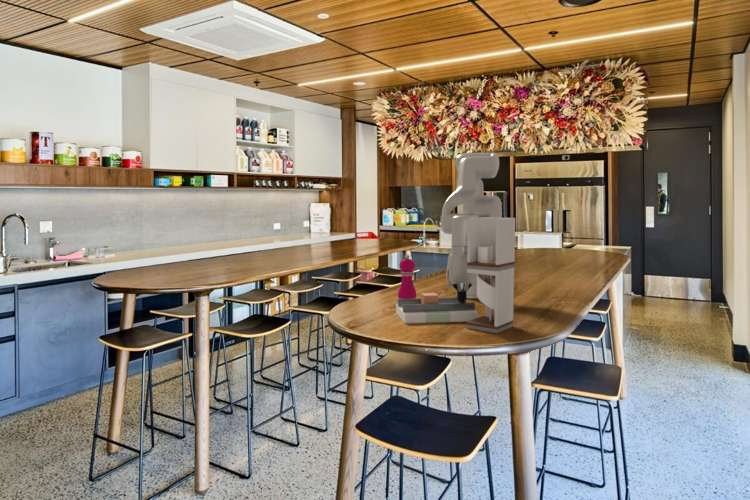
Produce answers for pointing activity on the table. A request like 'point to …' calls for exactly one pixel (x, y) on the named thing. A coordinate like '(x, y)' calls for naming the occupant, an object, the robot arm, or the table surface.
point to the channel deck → (436, 316)
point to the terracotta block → (429, 298)
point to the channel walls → (435, 305)
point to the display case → (492, 270)
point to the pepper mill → (407, 279)
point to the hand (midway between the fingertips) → (461, 302)
